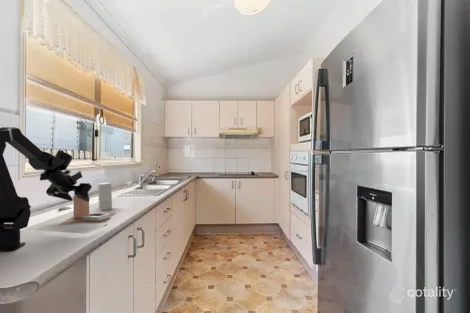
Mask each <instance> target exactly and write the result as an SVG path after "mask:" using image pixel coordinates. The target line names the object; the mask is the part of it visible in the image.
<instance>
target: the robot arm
mask: <svg viewBox="0 0 470 313" xmlns="http://www.w3.org/2000/svg"><path fill="white" fill-rule="evenodd" d="M7 144H8V145H10V146H12V148H14V149H15V150H17V151H18V152H19V153H20V154H22V155H23V156H24V157H26V159H28V164H29V165H30V166H31V167H32V169H34V170H36V171H43V173H40V176H39V181H48V182H49V183H51V184H50V185H49V186H48V187H47V189H46V192H45V194H46V195H48V196H49V197H53V198H58V199H61V200H64V201H65V200H66V201H70V202H71V201H73V198H72V196H71V195H70V194H69V193H70V192H73V193H74V195H75V196H77V198H79V199H82V200H84V201H87V202H89V203H90V194H89V192H90V191H91V189H92V188H93V186H92V185H91V184H90V182H80V183H79V184H78V185H77V183H78V180H80V179H82V178H83V174H82V172H81V170H79V169H74V170H73V169H72V170H69V169H67V168H68V167H69V166H70V164H71V162H72V161H73V156H72V154H70V153H67V152H65V151H64V150H57V152H56V154H55V155H54V154H52V153H50V152H47V151H46V150H42V149H41V148H40V147H38V145H36V144H35V143H34V142H33V141H32V140H30V139H29V138H28V137H27V136H26V135H24V134H23V132H22V130H21V129H20V128H18V127H17V126H16V127H15V126H14V127H13V126H2V127H0V252H1V253H2V252H13V251H16V250H17V249H20V248H21V247H23V246H24V245H26V242H24V241H23V242H21V230H22V229H25V228H27V227H28V225H29V221H30V218H31V214H32V213H31V208H32V206H31V205H30V202H29V199H28V197H25V196H24V197H23V196H19V195H18V193H17V190H16V188H15V184H14V182H13V179H12V176H11V173H10V171H9V168H8V166H7V163H6V160H5V158H4V152H5V150H6V147H7ZM74 195H73V196H74Z"/></svg>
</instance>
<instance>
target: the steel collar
mask: <svg viewBox="0 0 470 313" xmlns="http://www.w3.org/2000/svg"><path fill="white" fill-rule="evenodd" d="M110 213H111V212H92V213H89V214H88V215H85V216H82V221H94V222H100V221H103V220H105V219H108V218H110ZM110 219H111V218H110Z"/></svg>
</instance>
